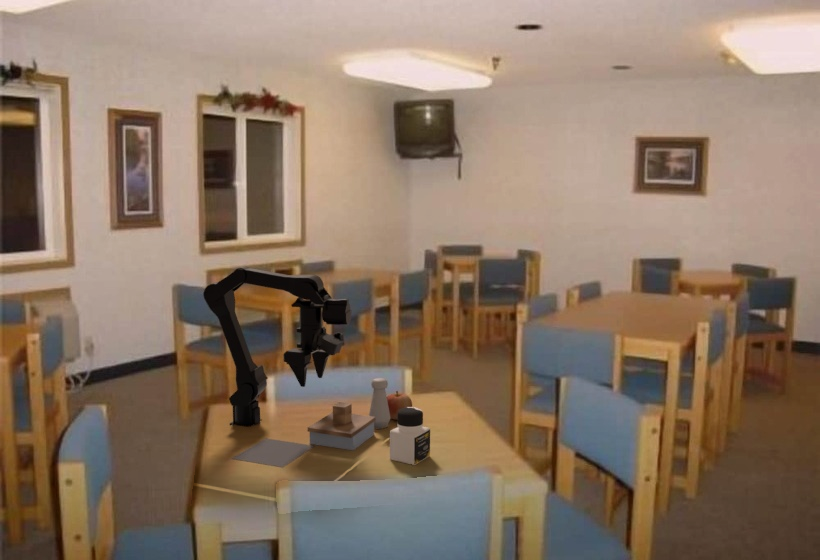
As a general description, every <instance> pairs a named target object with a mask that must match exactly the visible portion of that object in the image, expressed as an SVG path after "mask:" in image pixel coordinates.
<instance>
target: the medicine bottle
mask: <svg viewBox="0 0 820 560" xmlns="http://www.w3.org/2000/svg"><path fill="white" fill-rule="evenodd" d="M396 421H397V424H396V425H397V427H395V428H393V429H391V430H390V431H389V460H392V461H396V462H399V463H404V464H409V465H411V464H412V466H416V465H417V464H419V463H421V462H423V461H424V460H426V459H427V458H429V457H430V455H431V428H430V427H428V426H427V427H426V426H424V412H423V410H422V409H420V408H418V407H415V406H414V407H413V406H412V407H405V408H402V409H400V410H399V411H398V412H397V420H396Z"/></svg>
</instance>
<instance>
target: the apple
mask: <svg viewBox="0 0 820 560" xmlns="http://www.w3.org/2000/svg"><path fill="white" fill-rule="evenodd" d="M386 397H387V402H388V407H389V412H390V417H391V418H390V420H391V419H392V420H394V421H397V412H398V411H399V410H400V409H402V408H405V407H413V402H412V399H411V397H410V396H409V395H407V394H406V393H403V392H398V390H396V391H395V392H394V393H391V394H388V395H386Z"/></svg>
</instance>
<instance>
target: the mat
mask: <svg viewBox="0 0 820 560" xmlns="http://www.w3.org/2000/svg"><path fill="white" fill-rule="evenodd" d="M313 448H315V445H314V444H307V443H306V444H305V443H300V442H293V441H285V440H280V439H272V438H264V439H262V440H260V441H259V442H257V443H256V444H254V445H252V446H250V447H248V448H247V449H245V450H244V451H241V452H240V453H239V454H237V455H235V456H232V458H231V460H237V461H243V462H248V463H254V464H260V465H265V466H271V467H279V468H285V467H286V466H287V465H289V464H291V463H292V462H293V461H295V460H296V459H298V458H299V457H301V456H302V455H304V454H305V453H306V452H309V451H310V450H311V449H313Z"/></svg>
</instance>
